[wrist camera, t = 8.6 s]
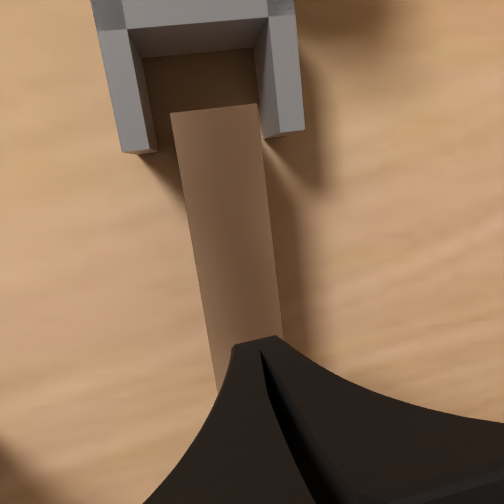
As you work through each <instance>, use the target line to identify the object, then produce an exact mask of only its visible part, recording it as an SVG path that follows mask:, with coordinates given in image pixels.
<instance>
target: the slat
mask: <svg viewBox="0 0 504 504" xmlns="http://www.w3.org/2000/svg"><path fill="white" fill-rule="evenodd" d="M170 118H171V123H172V129H173V135H174V141H175V147H176V153H177V158H178V164H179V170H180V176H181V182H182V188H183V193H184V199H185V205H186V211H187V217H188V223H189V228H190V234H191V240H192V246H193V252H194V258H195V263H196V269H197V275H198V281H199V287H200V293H201V298H202V304H203V310H204V316H205V322H206V327H207V333H208V339H209V345H210V351H211V357H212V362H213V368H214V374H215V380H216V386H217V392H218V394H219V391H220V389H221V387H222V384H223V381H224V378H225V375H226V372H227V369H228V365H229V362H230V357H231V348H232V347H233V346H234V344H239V343H243V342H247V341H252V340H256V339H260V338H265V337H269V336H273V335H276V336H278V337H279V338H281V339H282V340H283V341H284V337H283V328H282V319H281V311H280V302H279V293H278V284H277V276H276V267H275V258H274V249H273V241H272V232H271V223H270V214H269V206H268V197H267V188H266V179H265V171H264V162H263V153H262V145H261V136H260V127H259V118H258V110H257V103H255V104H246V105H237V106H228V107H219V108H211V109H202V110H193V111H184V112H175V113H170Z"/></svg>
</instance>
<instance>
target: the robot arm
mask: <svg viewBox="0 0 504 504" xmlns="http://www.w3.org/2000/svg"><path fill="white" fill-rule="evenodd" d="M143 504H504V423H499V422H493V421H486V420H480V419H474V418H467V417H462V416H457V415H453V414H449V413H444V412H440V411H435V410H431V409H427V408H423V407H420V406H416V405H412V404H409V403H406V402H403V401H400V400H396V399H393V398H390V397H387V396H384V395H381V394H379V393H376V392H373V391H371V390H368V389H366V388H364V387H361V386H359V385H357V384H354V383H352V382H350V381H348V380H346V379H344V378H341V377H339V376H338V375H336V374H334V373H332V372H330V371H328V370H327V369H325V368H323V367H321V366H320V365H318V364H316V363H315V362H313V361H312V360H310V359H309V358H307V357H306V356H304V355H303V354H301V353H300V352H298V351H297V350H296V349H294V348H293V347H291V346H290V345H289V344H287V343H286V342H285V341H283V340H282V339H281V338H279V337H278V336H276V335H273V336H269V337H265V338H260V339H256V340H252V341H247V342H243V343H239V344H234V346H233V347H232V348H231V357H230V362H229V365H228V369H227V372H226V375H225V378H224V381H223V384H222V387H221V389H220V391H219V394H218V396H217V398H216V401H215V403H214V405H213V407H212V409H211V411H210V413H209V415H208V417H207V419H206V421H205V423H204V424H203V426H202V428H201V430H200V431H199V433H198V435H197V436H196V438H195V439H194V441H193V442H192V444H191V445H190V447H189V448H188V450H187V451H186V453H185V454H184V456H183V457H182V458H181V460H180V461H179V463H178V464H177V465H176V466H175V468H174V469H173V470H172V471H171V473H170V474H169V475H168V476H167V477H166V479H165V480H164V481H163V482H162V483H161V484H160V486H159V487H158V488H157V489H156V490H155V491H154V492H153V493H152V494H151V496H150V497H149V498H148V499H147V500H146V501H145V502H144V503H143Z"/></svg>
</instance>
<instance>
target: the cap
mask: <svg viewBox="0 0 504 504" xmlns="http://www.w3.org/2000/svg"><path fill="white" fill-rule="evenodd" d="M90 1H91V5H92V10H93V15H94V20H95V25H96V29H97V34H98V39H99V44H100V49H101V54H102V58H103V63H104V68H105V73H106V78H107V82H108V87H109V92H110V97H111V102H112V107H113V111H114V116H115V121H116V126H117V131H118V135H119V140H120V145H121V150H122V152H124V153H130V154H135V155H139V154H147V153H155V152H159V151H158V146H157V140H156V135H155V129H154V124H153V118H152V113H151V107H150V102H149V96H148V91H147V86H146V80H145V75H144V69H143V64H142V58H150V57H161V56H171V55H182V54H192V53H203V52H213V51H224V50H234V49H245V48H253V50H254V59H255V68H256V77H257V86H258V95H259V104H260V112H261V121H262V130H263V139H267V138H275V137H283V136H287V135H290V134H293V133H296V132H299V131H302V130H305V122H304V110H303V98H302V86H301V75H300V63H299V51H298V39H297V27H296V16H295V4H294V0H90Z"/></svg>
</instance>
